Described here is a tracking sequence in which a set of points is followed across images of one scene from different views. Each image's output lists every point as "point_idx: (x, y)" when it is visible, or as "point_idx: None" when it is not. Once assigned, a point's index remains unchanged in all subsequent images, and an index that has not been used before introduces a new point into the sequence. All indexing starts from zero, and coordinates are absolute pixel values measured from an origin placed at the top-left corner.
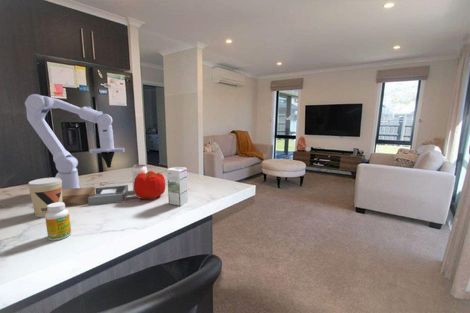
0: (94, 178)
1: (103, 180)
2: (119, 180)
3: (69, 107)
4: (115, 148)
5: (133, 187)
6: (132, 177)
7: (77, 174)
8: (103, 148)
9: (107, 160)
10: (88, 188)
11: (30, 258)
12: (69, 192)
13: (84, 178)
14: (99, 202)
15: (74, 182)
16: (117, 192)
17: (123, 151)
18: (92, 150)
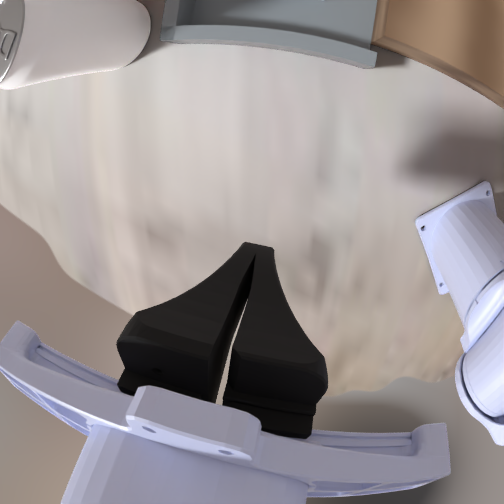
0: (333, 363)
1: (304, 324)
2: None
3: None
4: (81, 423)
5: (136, 10)
6: (95, 8)
7: (469, 278)
8: (254, 491)
9: (249, 295)
10: (419, 18)
11: None
12: (500, 19)
13: (364, 375)
14: None
15: (474, 228)
16: (238, 16)
17: (16, 327)
18: (425, 464)
